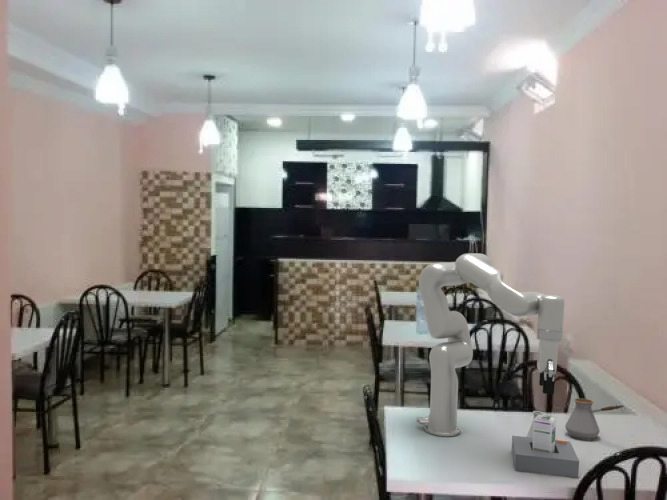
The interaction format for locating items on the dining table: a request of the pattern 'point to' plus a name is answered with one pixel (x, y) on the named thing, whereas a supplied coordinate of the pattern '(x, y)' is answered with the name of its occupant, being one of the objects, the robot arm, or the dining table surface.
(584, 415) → the coffee pot
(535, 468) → the socket block
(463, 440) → the dining table surface
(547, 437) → the syrup box
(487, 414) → the dining table surface
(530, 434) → the flask
